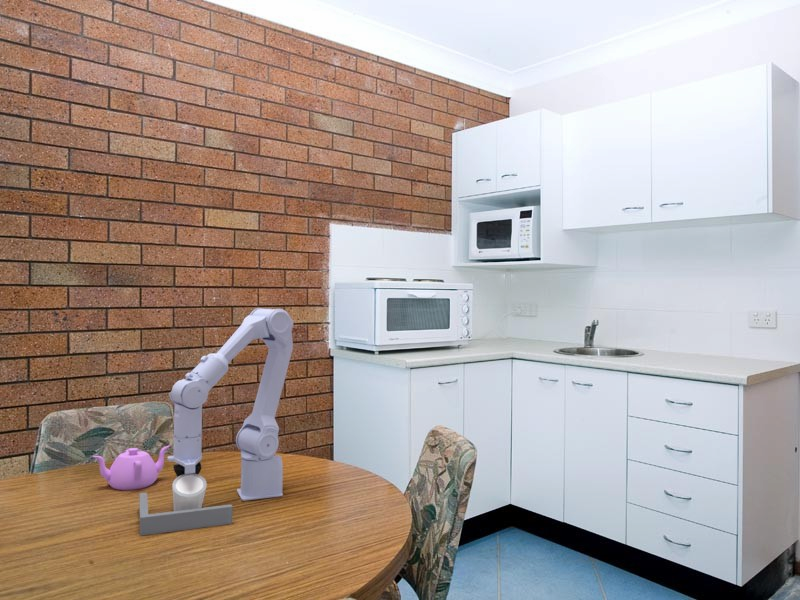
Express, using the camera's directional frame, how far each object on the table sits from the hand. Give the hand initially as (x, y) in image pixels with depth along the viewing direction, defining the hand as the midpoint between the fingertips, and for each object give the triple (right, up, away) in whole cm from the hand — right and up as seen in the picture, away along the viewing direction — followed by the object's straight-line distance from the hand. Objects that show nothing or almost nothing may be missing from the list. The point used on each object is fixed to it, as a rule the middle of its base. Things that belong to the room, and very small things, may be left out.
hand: (186, 498), depth 132 cm
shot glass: (+1, -2, -2) cm, 3 cm away
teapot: (-20, -3, +19) cm, 28 cm away
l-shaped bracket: (+1, -3, -3) cm, 4 cm away
